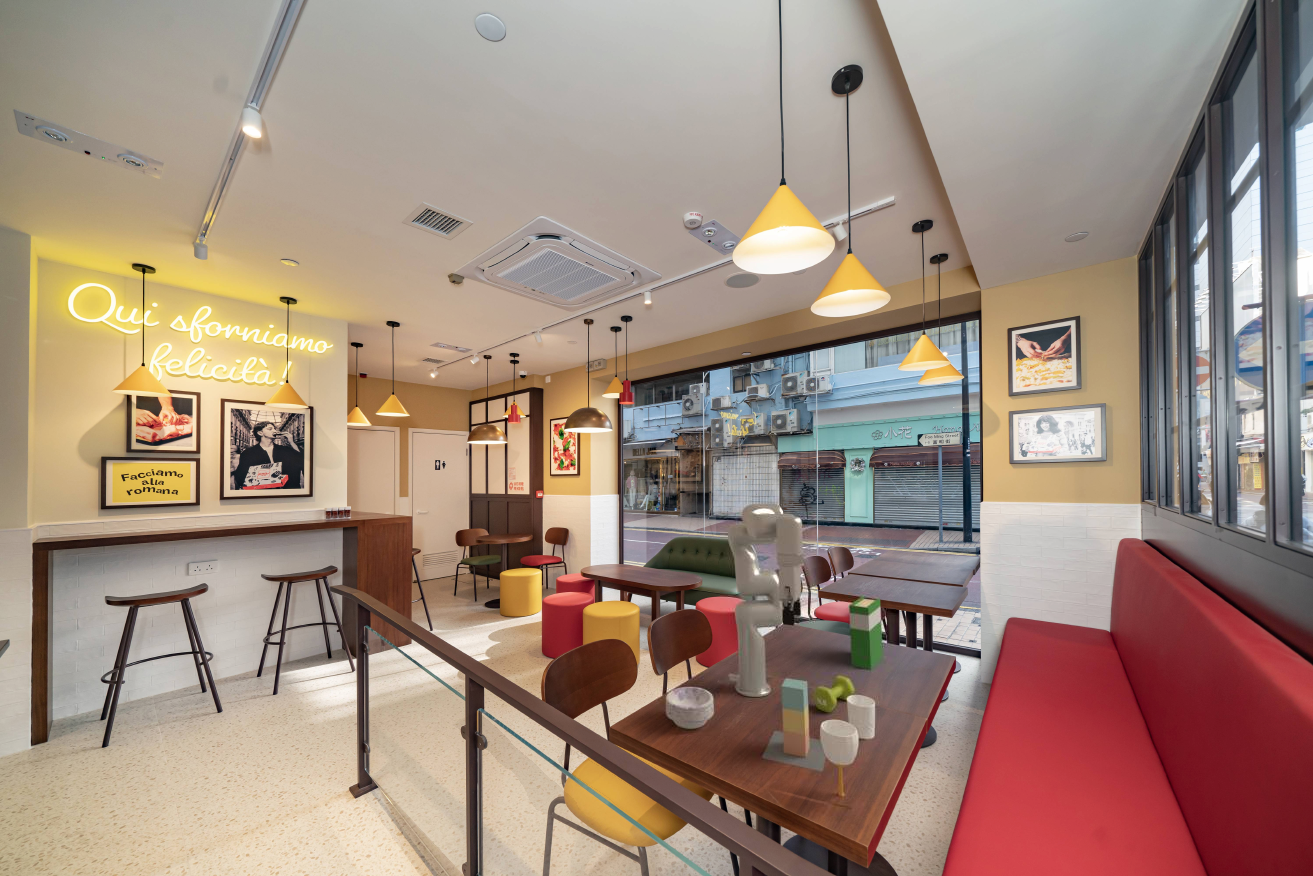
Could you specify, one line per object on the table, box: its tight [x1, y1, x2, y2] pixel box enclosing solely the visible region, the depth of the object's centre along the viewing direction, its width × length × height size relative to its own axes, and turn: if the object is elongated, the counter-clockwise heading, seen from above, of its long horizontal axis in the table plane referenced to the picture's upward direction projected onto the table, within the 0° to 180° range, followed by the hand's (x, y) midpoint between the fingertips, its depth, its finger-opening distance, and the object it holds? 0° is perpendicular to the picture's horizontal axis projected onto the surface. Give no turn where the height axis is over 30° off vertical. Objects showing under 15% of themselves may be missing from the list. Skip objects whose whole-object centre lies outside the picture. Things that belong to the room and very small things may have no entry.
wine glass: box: [819, 719, 860, 810], centre depth 123 cm, size 9×9×16 cm
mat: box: [761, 730, 827, 773], centre depth 142 cm, size 16×16×1 cm
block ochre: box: [781, 703, 810, 735], centre depth 143 cm, size 6×6×6 cm
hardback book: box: [848, 596, 884, 671], centre depth 210 cm, size 18×7×24 cm, turn 142°
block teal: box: [781, 677, 809, 712], centre depth 143 cm, size 6×6×6 cm
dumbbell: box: [812, 675, 856, 713], centre depth 171 cm, size 16×8×7 cm, turn 132°
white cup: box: [846, 694, 876, 740], centre depth 151 cm, size 8×8×10 cm
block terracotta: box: [782, 726, 810, 757], centre depth 142 cm, size 6×6×6 cm
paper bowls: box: [665, 686, 715, 730], centre depth 161 cm, size 15×15×8 cm
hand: (792, 619), depth 145 cm, fingers open, 9 cm apart
